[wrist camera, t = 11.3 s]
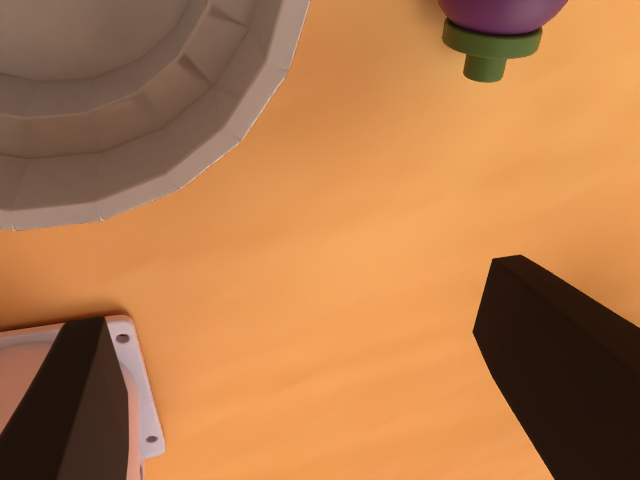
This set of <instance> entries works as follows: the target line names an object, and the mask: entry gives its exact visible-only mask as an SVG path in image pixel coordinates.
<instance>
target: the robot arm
mask: <svg viewBox="0 0 640 480" xmlns="http://www.w3.org/2000/svg"><path fill="white" fill-rule="evenodd" d="M120 334H126V336H119V335H120ZM473 334H474V337H475V339H476V341H477V344H478V346H479V348H480V351H481V353H482V356H483V358H484V360H485V362H486V364H487V366H488V369H489V371H490V373H491V375H492V377H493V379H494V381H495V382H496V384H497V386H498V388H499V389H500V391H501V393H502V394H503V396H504V398H505V399H506V401H507V403H508V404H509V406H510V408H511V409H512V411H513V413H514V414H515V416H516V417H517V419H518V421H519V422H520V424H521V426H522V427H523V429H524V430H525V432H526V434H527V435H528V437H529V439H530V440H531V442H532V443H533V445H534V447H535V448H536V450H537V452H538V453H539V455H540V456H541V458H542V460H543V461H544V463H545V465H546V466H547V468H548V469H549V471H550V473H551V474H552V476H553V478H554V479H555V480H640V328H639V327H637V326H636V325H634V324H632V323H631V322H629V321H627V320H626V319H624V318H622V317H621V316H619V315H618V314H616V313H614V312H613V311H611V310H609V309H608V308H606V307H605V306H603V305H601V304H600V303H598V302H597V301H595V300H594V299H592V298H590V297H589V296H587V295H586V294H584V293H582V292H581V291H579V290H578V289H576V288H575V287H573V286H571V285H570V284H568V283H567V282H565V281H564V280H562V279H560V278H559V277H557V276H556V275H554V274H553V273H551V272H549V271H548V270H546V269H545V268H543V267H541V266H540V265H538V264H536V263H535V262H533V261H531V260H529V259H528V258H526V257H524V256H522V255H514V256H507V257H501V258H494V259H492V263H491V266H490V270H489V273H488V277H487V281H486V284H485V288H484V292H483V295H482V299H481V303H480V306H479V310H478V314H477V317H476V321H475V325H474V328H473ZM165 450H166V443H165V439H164V435H163V431H162V427H161V424H160V420H159V416H158V412H157V409H156V405H155V401H154V397H153V394H152V390H151V386H150V382H149V378H148V375H147V371H146V367H145V363H144V360H143V356H142V352H141V348H140V345H139V341H138V337H137V333H136V330H135V326H134V322H133V320H132V318H130V317H129V316H126V315H113V316H106V317H105V316H103V317H96V318H89V319H82V320H76V321H69V322H66V323H59V324H52V325H45V326H39V327H32V328H25V329H18V330H12V331H5V332H0V480H145V459H146V458H151V457H156V456H159V455H161V454H163V453H164V452H165Z"/></svg>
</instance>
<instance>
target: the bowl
mask: <svg viewBox="0 0 640 480" xmlns="http://www.w3.org/2000/svg"><path fill="white" fill-rule="evenodd" d="M310 2H311V0H0V229H2V230H11V231H12V230H16V231H22V230H30V229H39V228H48V227H57V226H65V225H74V224H83V223H91V222H100V221H102V220H103V219H104V220H107V219H109V218H112V217H114V216H117V215H119V214H122V213H124V212H127V211H130V210H132V209H135V208H137V207H140V206H142V205H145V204H147V203H150V202H152V201H155V200H157V199H160V198H162V197H165V196H168V195H170V194H173V193H175V192H177V191H178V189H179V190H181V189H182V188H184V187H185V186H186V185H187V184H189V183H190V182H191V181H192V180H194V179H195V178H196V177H197V176H199V175H200V174H201V173H203V172H204V171H205V170H206V169H208V168H209V167H210V166H211V165H213V164H214V163H215V162H217V161H218V160H219V159H220V158H222V157H223V156H224V155H225V154H227V153H228V152H229V151H231V150H232V149H233V148H234V147H236V146H237V145H238V144H239V143H240V142H241V140H243V139H244V138H245V136H246V135H247V133H248V132H249V130H250V129H251V127H252V126H253V124H254V123H255V121H256V120H257V118H258V117H259V115H260V114H261V113H262V111H263V110H264V108H265V107H266V105H267V104H268V102H269V101H270V99H271V98H272V96H273V95H274V93H275V92H276V90H277V89H278V88H279V86H280V85H281V83H282V82H283V80H284V79H285V77H286V76H287V74H288V70H289V69H290V68H291V65H292V61H293V58H294V55H295V51H296V48H297V45H298V42H299V38H300V35H301V32H302V28H303V25H304V22H305V19H306V15H307V12H308V9H309V5H310Z"/></svg>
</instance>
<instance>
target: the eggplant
mask: <svg viewBox="0 0 640 480" xmlns="http://www.w3.org/2000/svg"><path fill="white" fill-rule="evenodd" d="M567 1H568V0H438V2H439V5H440V6H441V8H442V9H443V11H444V13H445V14H446V16H447V18H446V20H445V23H444V29H443V36H442V39H443V42H444V44H445V45H447V46H448V47H450V48H451V49H453V50H456V51H458V52H461V53H464V54H466V59H465V65H464V70H463V73H464V76H465V77H467V78H468V79H471V80H474V81H477V82H486V83H489V82H497V81H499V80H501V78H502V77H503V73H504V69H505V64H506V60H507V59H513V58H521V57H526V56H529V55H532V54H533V53H535V52H536V51H537V49H538V47H539V43H540V39H541V35H542V27H541V26H543V25H544V24H546V23H547V22H548V21H549V20H551V19H552V18H553V17H554V16H556V14H557V13H558V12H559V11H560V10H561V9H562V7H563V6H564V5H565V4H566V3H567Z"/></svg>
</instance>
